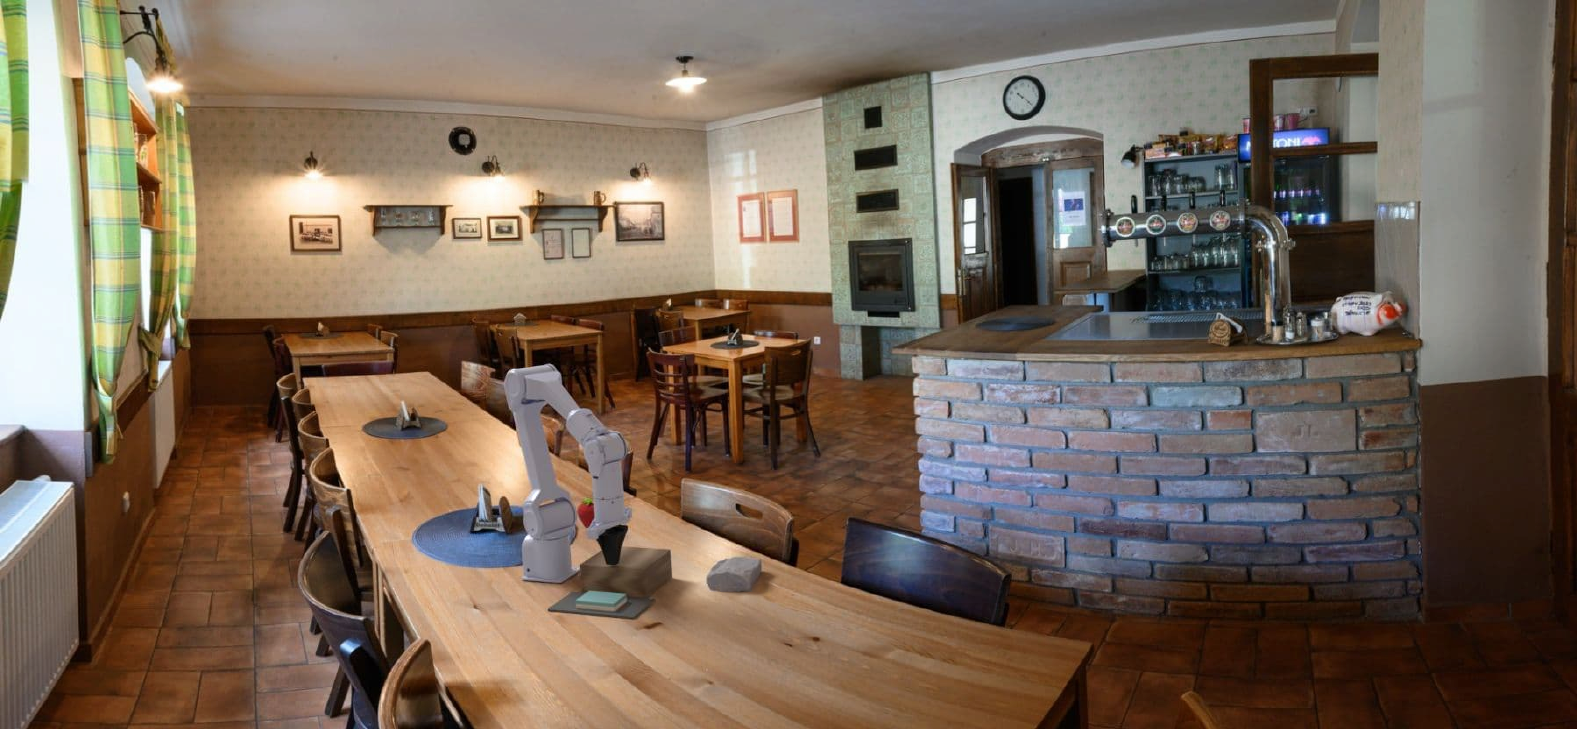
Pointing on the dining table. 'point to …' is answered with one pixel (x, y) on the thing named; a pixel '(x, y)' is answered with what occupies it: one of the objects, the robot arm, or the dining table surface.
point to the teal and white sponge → (601, 601)
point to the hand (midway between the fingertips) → (612, 563)
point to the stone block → (734, 574)
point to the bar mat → (625, 611)
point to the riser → (628, 572)
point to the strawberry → (586, 512)
